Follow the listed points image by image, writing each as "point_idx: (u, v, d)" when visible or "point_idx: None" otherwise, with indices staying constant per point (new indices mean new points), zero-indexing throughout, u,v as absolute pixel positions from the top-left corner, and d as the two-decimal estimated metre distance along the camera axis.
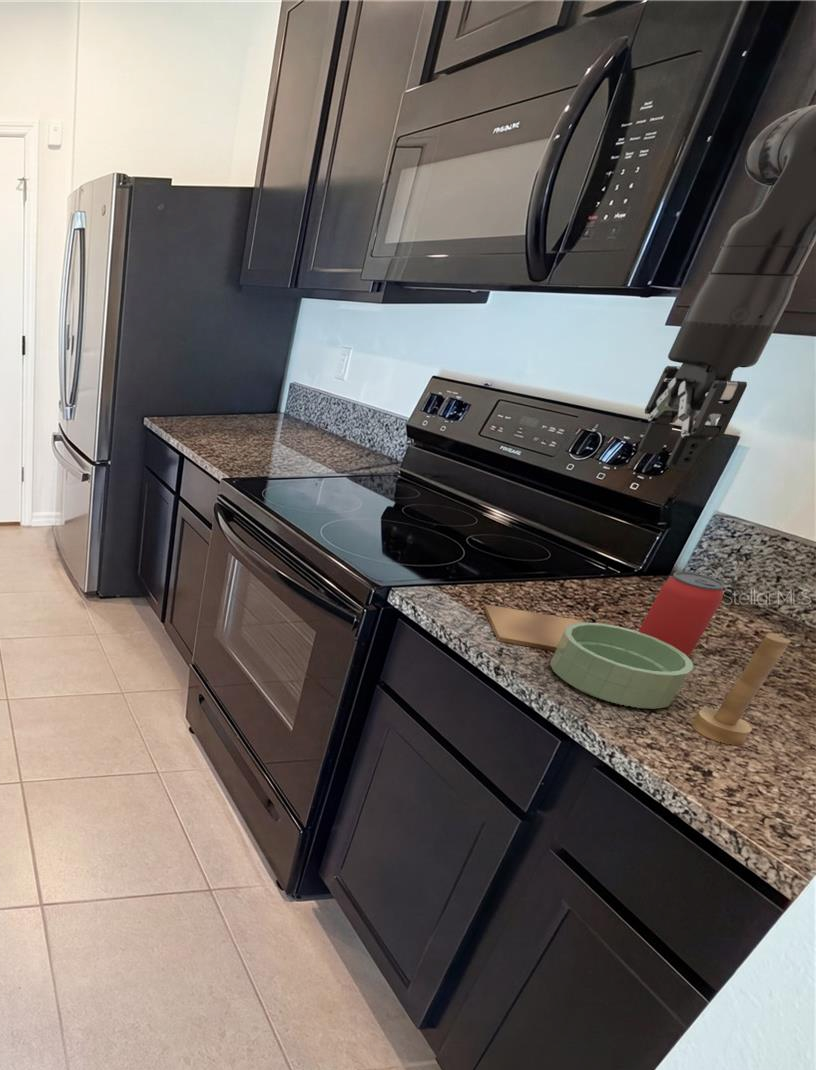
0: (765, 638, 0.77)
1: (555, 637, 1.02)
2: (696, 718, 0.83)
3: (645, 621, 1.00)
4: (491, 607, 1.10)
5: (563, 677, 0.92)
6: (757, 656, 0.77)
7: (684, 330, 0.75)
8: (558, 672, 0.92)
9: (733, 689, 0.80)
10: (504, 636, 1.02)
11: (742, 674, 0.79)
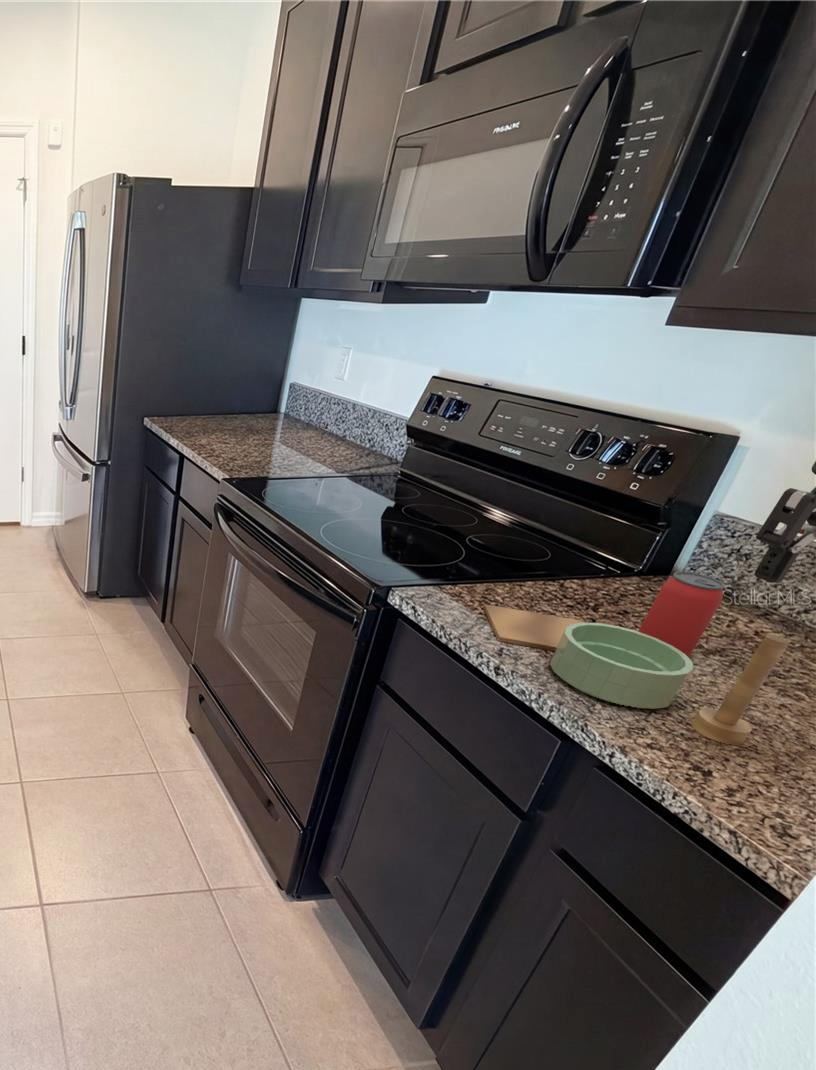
0: (765, 638, 0.77)
1: (555, 637, 1.02)
2: (696, 718, 0.83)
3: (645, 621, 1.00)
4: (491, 607, 1.10)
5: (563, 677, 0.92)
6: (757, 656, 0.77)
7: None
8: (558, 672, 0.92)
9: (733, 689, 0.80)
10: (504, 636, 1.02)
11: (742, 674, 0.79)
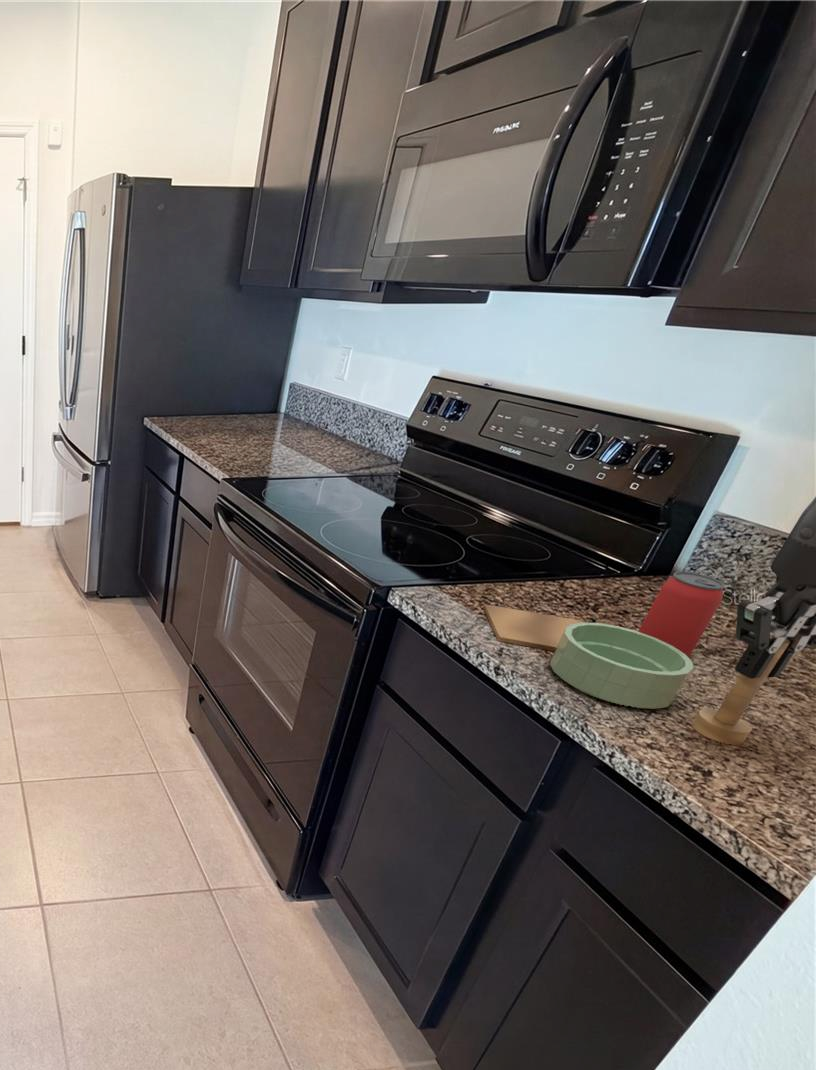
0: None
1: (555, 637, 1.02)
2: (696, 718, 0.83)
3: (645, 621, 1.00)
4: (491, 607, 1.10)
5: (563, 677, 0.92)
6: None
7: None
8: (558, 672, 0.92)
9: (733, 689, 0.80)
10: (504, 636, 1.02)
11: None
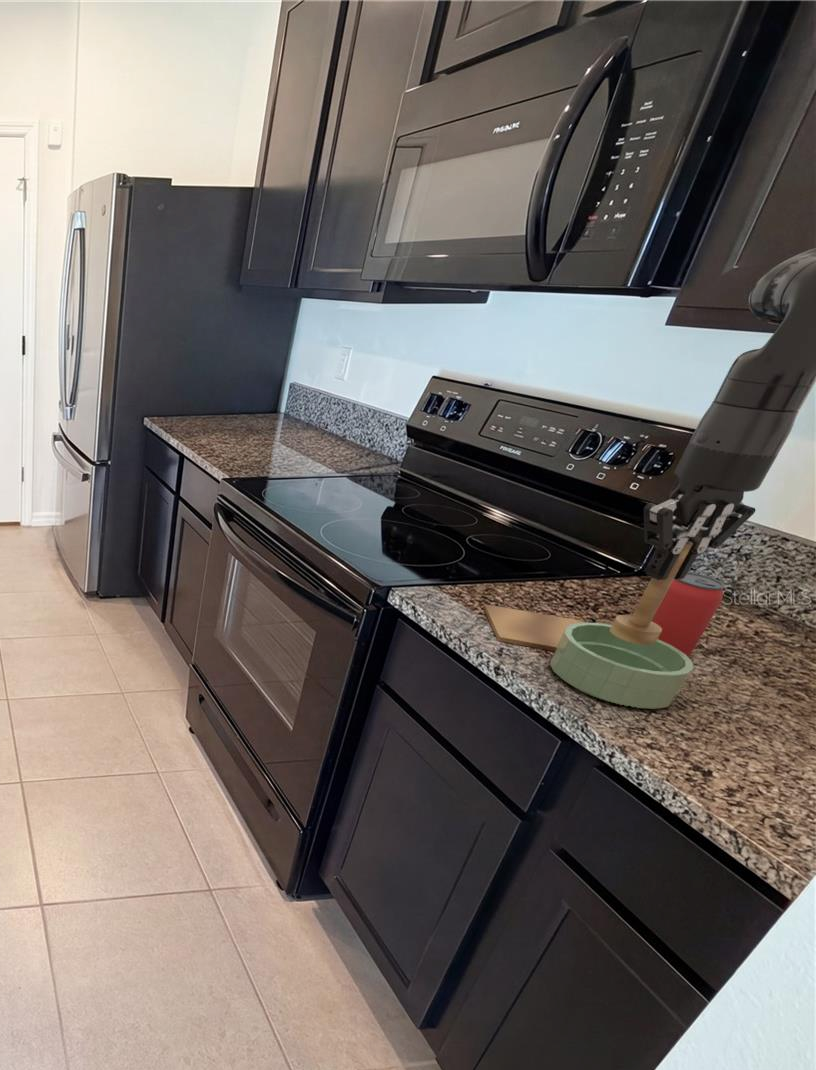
0: None
1: (555, 637, 1.02)
2: (613, 623, 0.89)
3: None
4: (491, 607, 1.10)
5: (563, 677, 0.92)
6: None
7: None
8: (558, 672, 0.92)
9: (645, 592, 0.86)
10: (504, 636, 1.02)
11: (652, 577, 0.85)
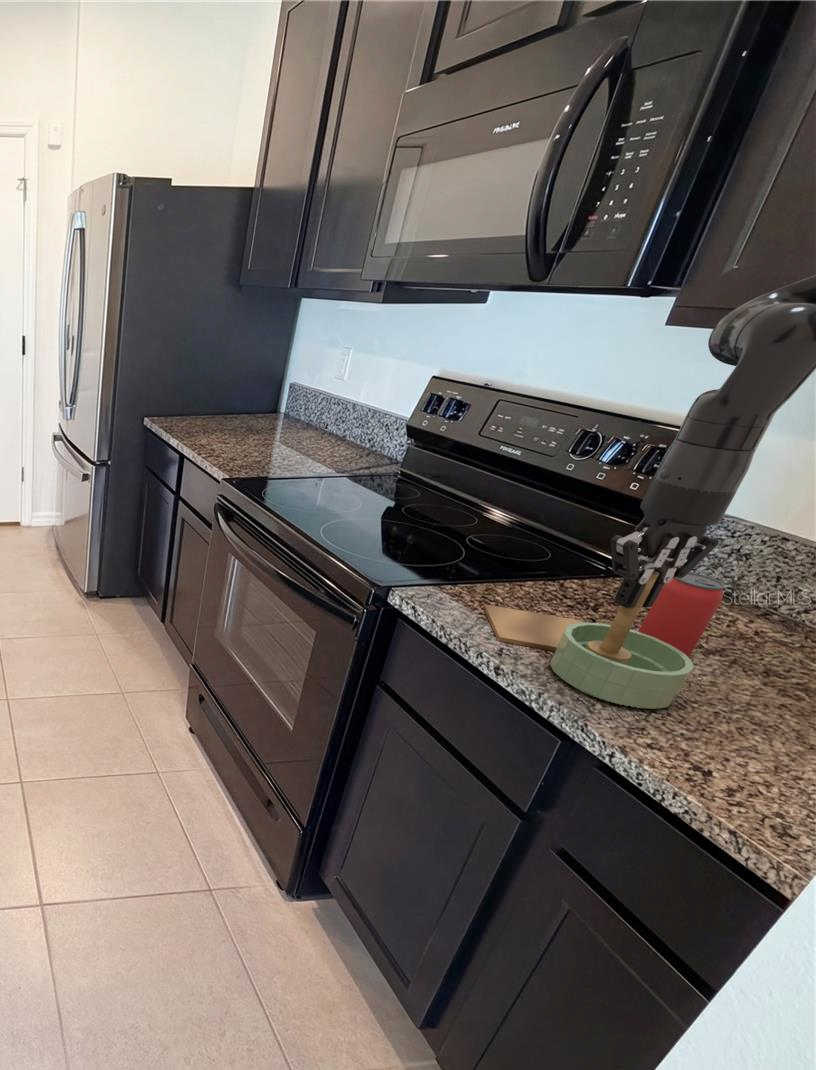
0: None
1: (555, 637, 1.02)
2: None
3: (645, 621, 1.00)
4: (491, 607, 1.10)
5: (563, 677, 0.92)
6: None
7: None
8: (558, 672, 0.92)
9: (614, 620, 0.89)
10: (504, 636, 1.02)
11: None
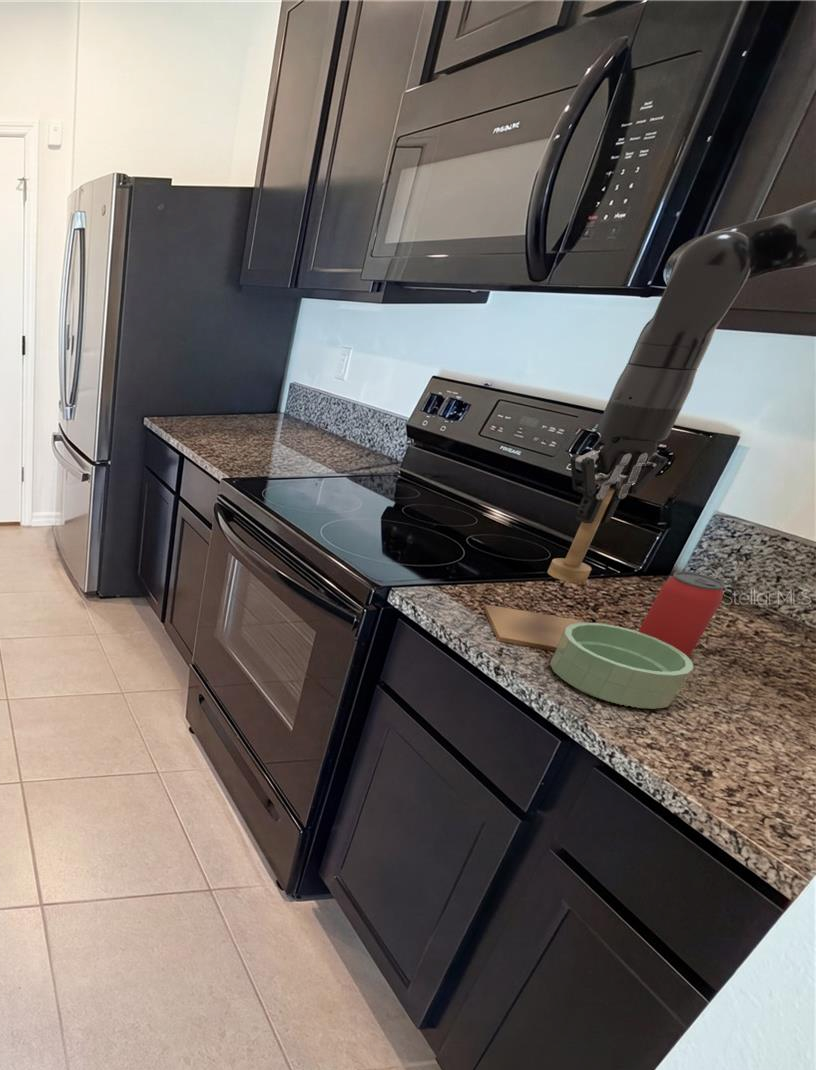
0: None
1: (555, 637, 1.02)
2: (550, 565, 1.00)
3: (645, 621, 1.00)
4: (491, 607, 1.10)
5: (563, 677, 0.92)
6: None
7: None
8: (558, 672, 0.92)
9: (576, 536, 0.97)
10: (504, 636, 1.02)
11: (581, 522, 0.96)
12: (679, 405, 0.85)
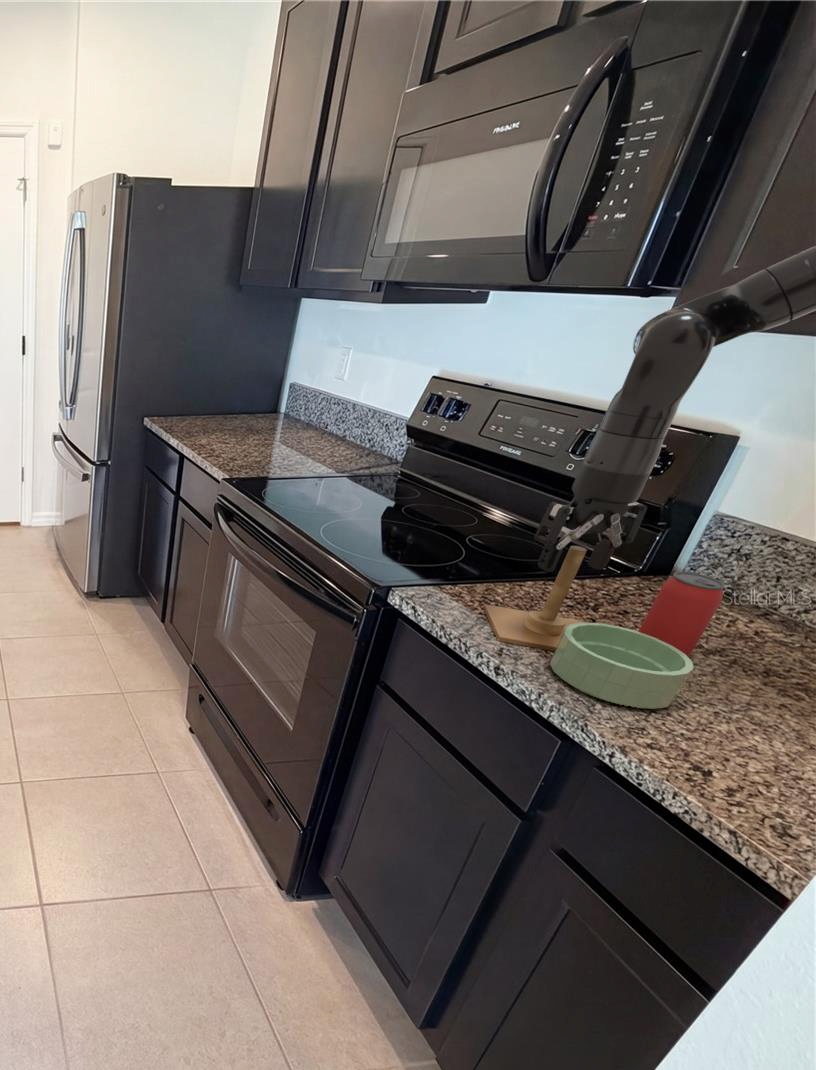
0: None
1: (555, 637, 1.02)
2: (527, 617, 1.05)
3: (645, 621, 1.00)
4: (491, 607, 1.10)
5: (563, 677, 0.92)
6: (565, 563, 0.99)
7: None
8: (558, 672, 0.92)
9: (551, 591, 1.02)
10: (504, 636, 1.02)
11: (556, 579, 1.01)
12: (647, 471, 0.89)
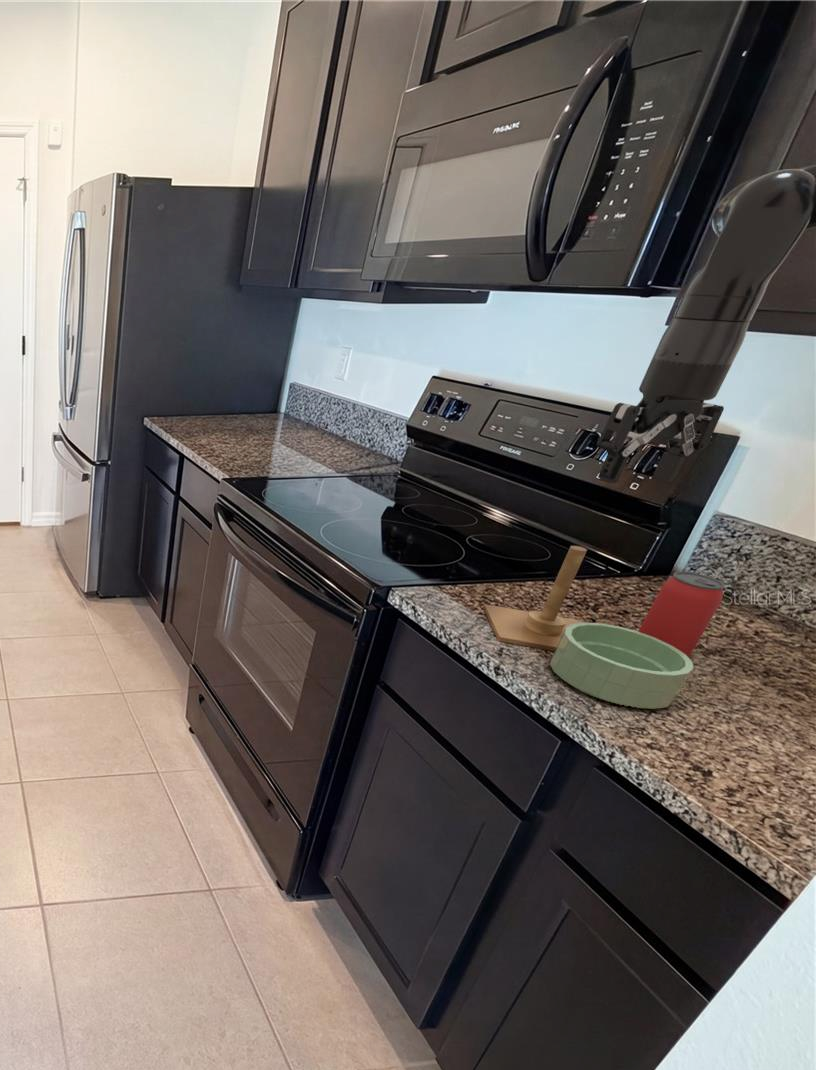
0: None
1: (555, 637, 1.02)
2: (527, 617, 1.05)
3: (645, 621, 1.00)
4: (491, 607, 1.10)
5: (563, 677, 0.92)
6: (565, 563, 0.99)
7: None
8: (558, 672, 0.92)
9: (551, 591, 1.02)
10: (504, 636, 1.02)
11: (556, 579, 1.01)
12: (730, 361, 0.80)
